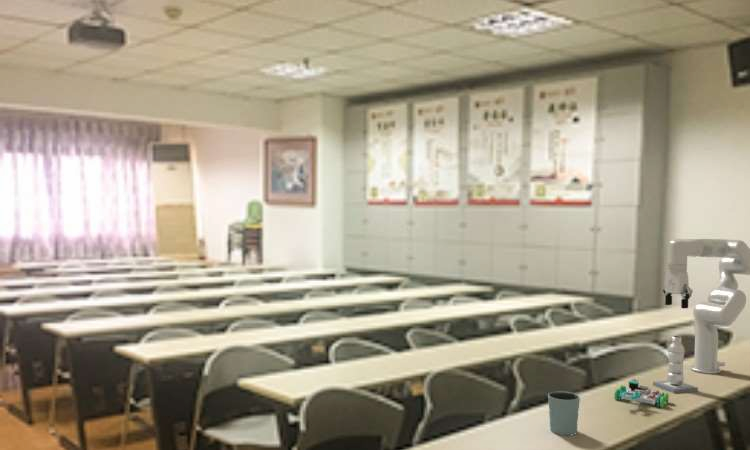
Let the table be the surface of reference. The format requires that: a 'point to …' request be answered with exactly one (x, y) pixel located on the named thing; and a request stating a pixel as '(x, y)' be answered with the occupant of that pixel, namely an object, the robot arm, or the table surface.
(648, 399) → the robot kit
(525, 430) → the table surface
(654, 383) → the grey flat square slab
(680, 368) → the plastic bottle
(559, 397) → the grey blue cup
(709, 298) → the robot arm
